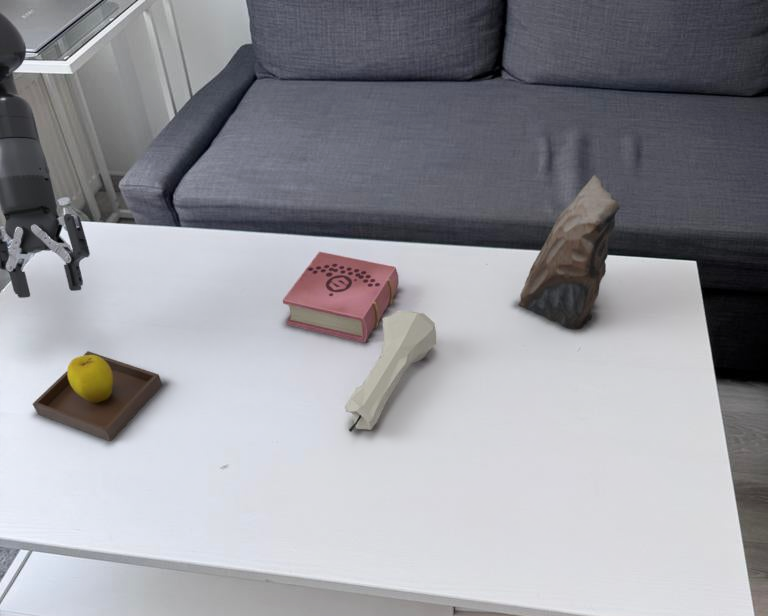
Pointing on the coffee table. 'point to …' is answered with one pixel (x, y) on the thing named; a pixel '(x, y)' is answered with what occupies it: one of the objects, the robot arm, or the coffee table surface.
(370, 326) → the book
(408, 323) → the faceted club
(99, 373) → the apple
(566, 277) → the brown rock
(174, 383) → the coffee table surface
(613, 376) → the coffee table surface
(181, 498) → the coffee table surface
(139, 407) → the tray
